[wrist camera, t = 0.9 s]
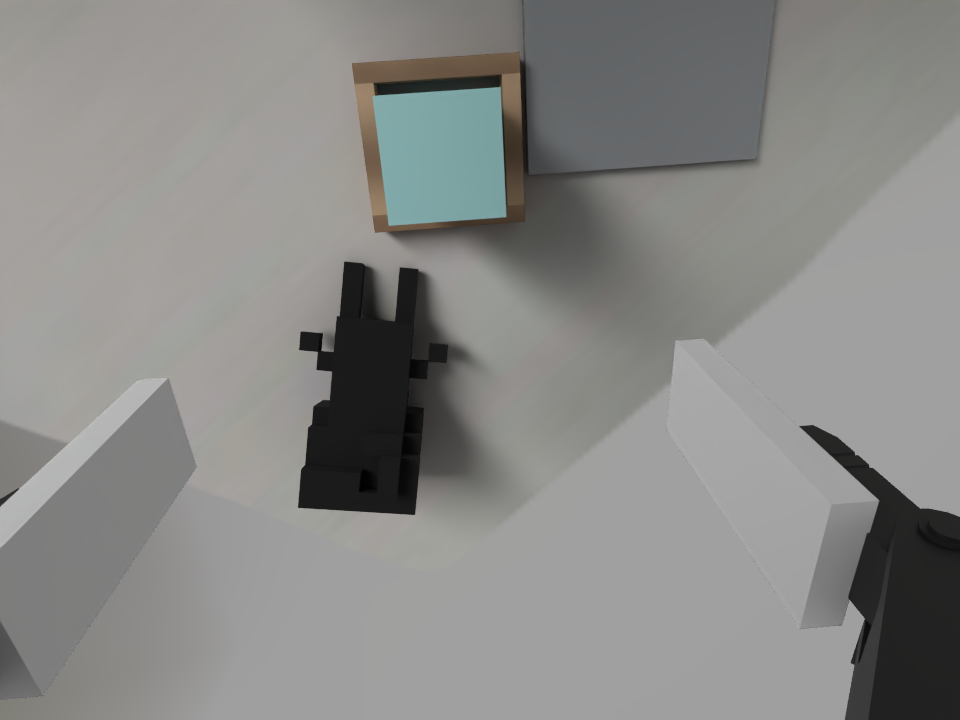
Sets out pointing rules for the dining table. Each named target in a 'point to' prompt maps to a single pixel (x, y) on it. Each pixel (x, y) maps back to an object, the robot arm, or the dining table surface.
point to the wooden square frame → (437, 70)
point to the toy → (367, 407)
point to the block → (441, 155)
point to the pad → (643, 82)
